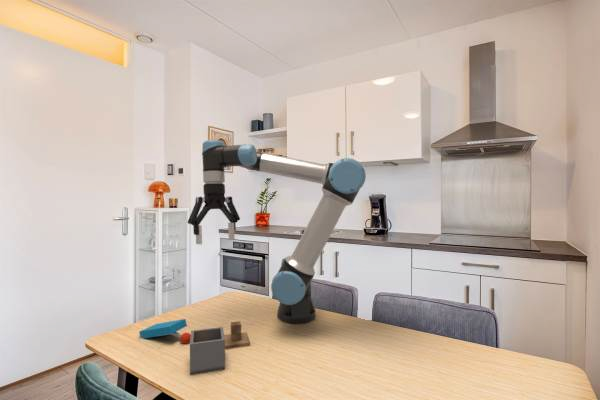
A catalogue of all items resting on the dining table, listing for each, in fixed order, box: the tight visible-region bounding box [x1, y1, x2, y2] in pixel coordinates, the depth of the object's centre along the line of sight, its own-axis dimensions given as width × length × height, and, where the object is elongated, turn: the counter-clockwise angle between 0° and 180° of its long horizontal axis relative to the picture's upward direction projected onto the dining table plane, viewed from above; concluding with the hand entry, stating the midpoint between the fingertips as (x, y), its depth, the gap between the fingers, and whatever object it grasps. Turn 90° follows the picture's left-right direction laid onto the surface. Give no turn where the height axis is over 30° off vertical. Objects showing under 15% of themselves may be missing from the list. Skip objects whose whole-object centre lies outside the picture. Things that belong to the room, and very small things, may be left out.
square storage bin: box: [189, 326, 226, 376], centre depth 87 cm, size 9×9×8 cm
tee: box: [224, 320, 251, 350], centre depth 100 cm, size 8×8×6 cm
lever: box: [139, 318, 191, 345], centre depth 103 cm, size 7×7×18 cm
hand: (216, 242), depth 112 cm, fingers open, 13 cm apart
